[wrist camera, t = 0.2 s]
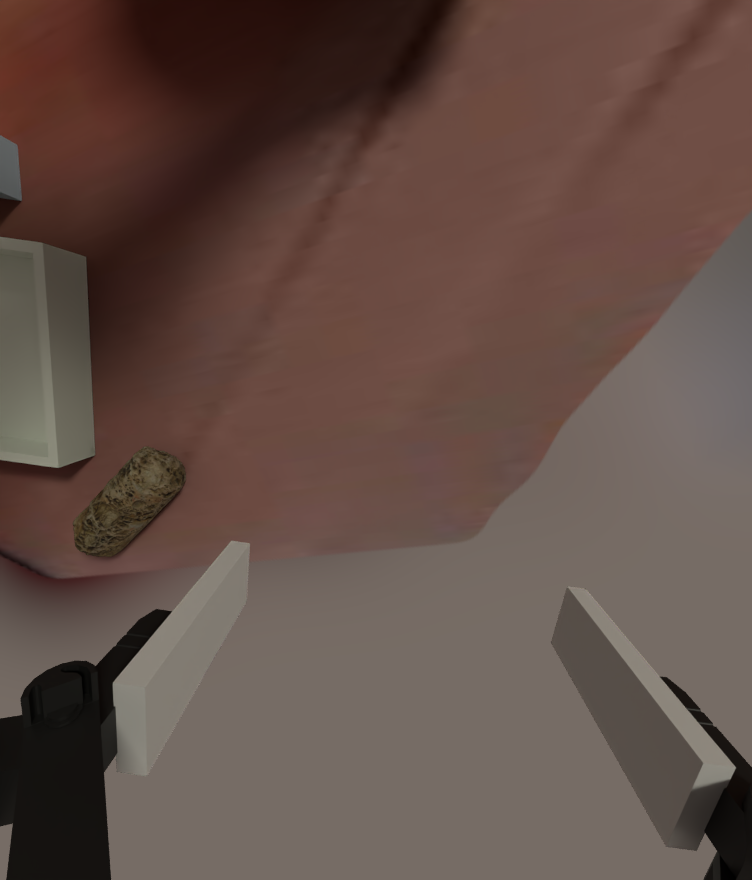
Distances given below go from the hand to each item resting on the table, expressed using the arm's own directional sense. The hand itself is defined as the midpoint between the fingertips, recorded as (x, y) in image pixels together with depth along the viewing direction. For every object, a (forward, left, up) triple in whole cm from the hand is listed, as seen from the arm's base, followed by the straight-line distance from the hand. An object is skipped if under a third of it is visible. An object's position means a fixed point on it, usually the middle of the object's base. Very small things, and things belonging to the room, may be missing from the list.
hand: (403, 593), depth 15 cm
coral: (+11, -29, -28) cm, 42 cm away
